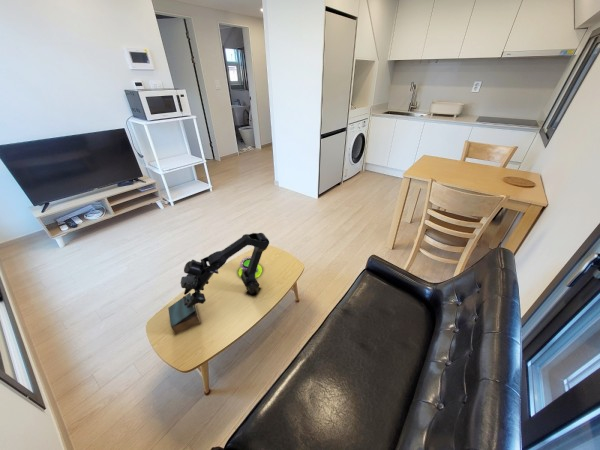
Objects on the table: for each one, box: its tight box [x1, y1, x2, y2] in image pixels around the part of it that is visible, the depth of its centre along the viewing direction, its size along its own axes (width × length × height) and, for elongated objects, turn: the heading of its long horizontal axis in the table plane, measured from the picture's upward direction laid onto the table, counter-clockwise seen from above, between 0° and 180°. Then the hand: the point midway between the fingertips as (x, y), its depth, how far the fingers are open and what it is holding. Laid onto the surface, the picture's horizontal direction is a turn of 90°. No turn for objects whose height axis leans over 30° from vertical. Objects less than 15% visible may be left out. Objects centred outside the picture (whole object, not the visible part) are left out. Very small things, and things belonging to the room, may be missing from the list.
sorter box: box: [171, 304, 201, 335], centre depth 123 cm, size 12×12×6 cm
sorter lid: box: [167, 292, 195, 328], centre depth 118 cm, size 13×12×4 cm
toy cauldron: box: [238, 255, 263, 279], centre depth 151 cm, size 15×15×11 cm
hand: (186, 300), depth 118 cm, fingers open, 9 cm apart
